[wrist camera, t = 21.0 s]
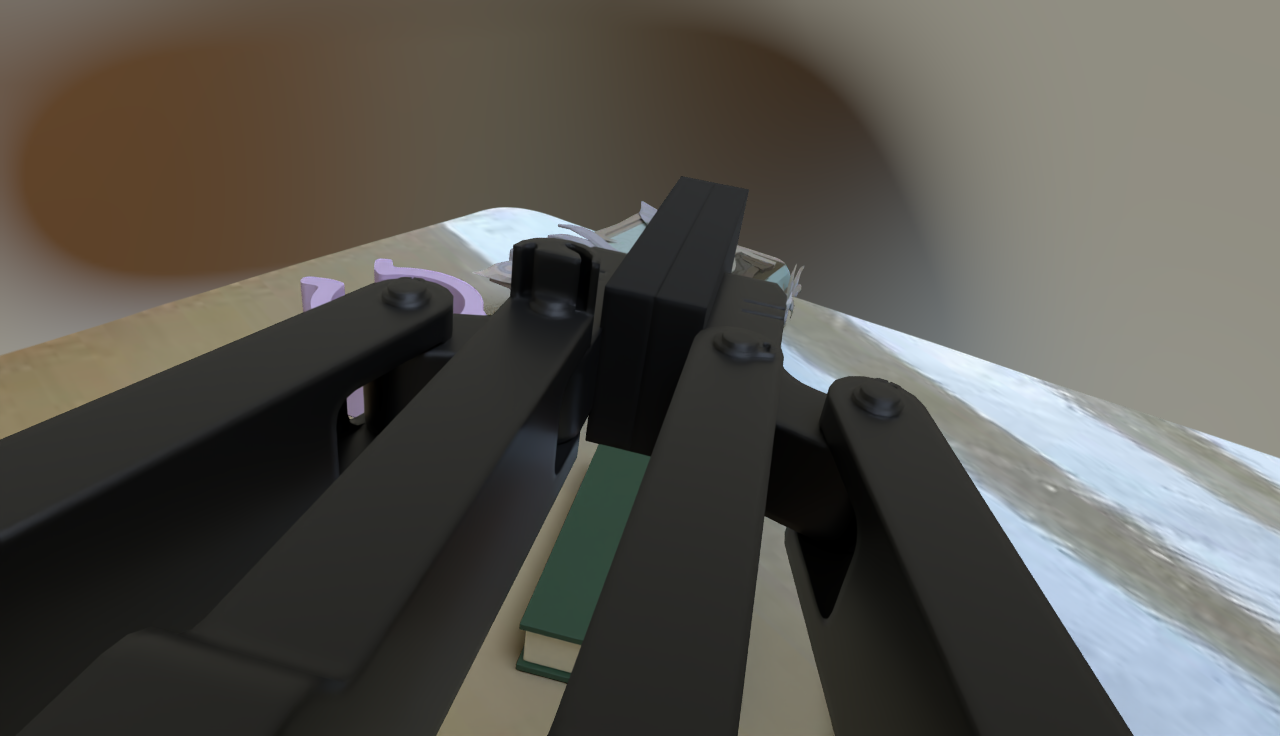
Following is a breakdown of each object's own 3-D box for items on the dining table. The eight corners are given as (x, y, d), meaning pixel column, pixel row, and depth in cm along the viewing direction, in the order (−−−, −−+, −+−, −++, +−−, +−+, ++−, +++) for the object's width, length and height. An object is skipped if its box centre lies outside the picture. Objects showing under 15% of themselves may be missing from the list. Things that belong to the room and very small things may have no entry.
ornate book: (681, 458, 59) (810, 319, 82) (700, 351, 54) (832, 235, 77) (456, 356, 67) (630, 257, 90) (455, 256, 62) (640, 177, 85)
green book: (738, 681, 37) (760, 473, 51) (519, 623, 38) (601, 436, 52) (724, 725, 38) (749, 512, 53) (515, 669, 39) (596, 476, 54)
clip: (568, 419, 60) (577, 341, 56) (439, 487, 51) (440, 400, 47) (409, 322, 70) (408, 251, 66) (277, 365, 61) (268, 286, 57)
